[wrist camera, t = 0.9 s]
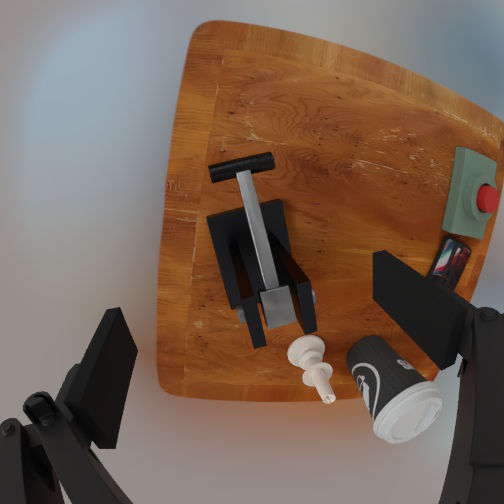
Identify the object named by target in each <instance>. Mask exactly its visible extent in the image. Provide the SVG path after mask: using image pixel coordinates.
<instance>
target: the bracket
mask: <svg viewBox="0 0 504 504" xmlns="http://www.w3.org/2000/svg"><path fill="white" fill-rule="evenodd" d="M259 206H260V210H261V214H262V217H263V221H264V225H265V229H266V233H267V237H268V241H269V245H270V249H271V253H272V257H273V261H274V265H275V269H276V273H277V277H278V281H279V284H281V283H284V284H286V285H288V286H289V289H290V293H291V297H292V302H293V306H294V310H295V314H296V318H297V320H298V322H299V324H300V325H301V327H302V329H303V331H304V333H305V335H306V334H310V333H313V332H316V331H317V324H316V316H315V309H314V304H315V303H316V296H315V292H314V290H313V288H312V287H311V281H310V280H309V279H308V277H307V276H306V275H305V273H304V272H303V271H302V269H301V268H300V267H299V266H298V264H297V263H296V262H295V260H294V259H293V258H292V254H291V249H290V243H289V238H288V232H287V227H286V222H285V216H284V211H283V206H282V201H281V200H280V199H275V200H271V201H267V202H262V203H259ZM207 223H208V227H209V231H210V234H211V238H212V242H213V246H214V249H215V253H216V257H217V260H218V264H219V268H220V271H221V275H222V279H223V282H224V286H225V289H226V293H227V296H228V300H229V303H230V307H231V310H233V309H237V313H238V316H239V320H240V323H241V324H242V323H246V322H247V325H248V328H249V332H250V336H251V339H252V343H253V347H254V349H256V348H260V347H264V346H267V343H266V339H265V335H264V331H263V327H262V323H261V319H260V315H259V310H258V306H257V303H260V300H259V296H258V292H257V290H258V289H262V288H264V285H263V281H262V277H261V273H260V269H259V265H258V261H257V257H256V253H255V249H254V245H253V241H252V237H251V233H250V229H249V225H248V221H247V217H246V214H245V210H244V207H241V208H237V209H233V210H229V211H225V212H221V213H217V214H213V215H209V216H207Z"/></svg>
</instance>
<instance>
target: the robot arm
mask: <svg viewBox="0 0 504 504" xmlns="http://www.w3.org/2000/svg"><path fill="white" fill-rule="evenodd" d="M373 299H374V300H375V301H376V302H377V303H378V304H379V305H380V306H381V308H382V309H383V310H384V311H385V312H386V313H387V314H388V315H389V316H390V317H391V318H392V319H393V320H394V321H395V322H396V323H397V324H398V325H399V326H400V327H401V328H402V329H403V330H404V331H405V332H406V333H407V334H408V335H409V336H410V337H411V338H412V340H413V341H414V342H415V343H416V344H417V345H418V346H419V347H420V348H421V349H422V350H423V351H424V352H425V353H426V354H427V355H428V357H429V358H430V359H431V360H432V361H433V362H434V363H435V364H436V365H437V366H438V367H439V369H440V370H444V369H446V368H447V367H449V366H451V365H453V364H455V361H456V357H457V353H459V354H460V355H461V356H462V357H463V359H462V362H461V366H460V369H459V372H458V375H457V377H460V389H459V400H458V410H457V418H456V425H455V432H454V439H453V444H452V450H451V455H450V460H449V465H448V469H447V474H446V478H445V482H444V486H443V490H442V494H441V497H440V501H439V503H438V504H504V313H503V314H500V313H499V312H498V311H497V310H495V309H493V308H489V307H481V308H478V309H477V308H476V307H475V306H473V305H472V304H470V303H469V302H468V301H467V300H465V299H464V298H462V297H461V296H459V295H458V294H457V293H455V292H454V291H453V290H451V289H450V288H448V287H447V286H445V285H442V284H439V283H435V284H434V283H432V282H431V281H429V280H428V279H427V278H425V277H424V276H422V275H421V274H419V273H418V272H417V271H415V270H414V269H412V268H411V267H409V266H408V265H406V264H405V263H404V262H402V261H401V260H399V259H398V258H396V257H395V256H393V255H392V254H390V253H389V252H387V251H386V250H383V251H378V252H374V253H373ZM137 352H138V350H137V347H136V345H135V343H134V340H133V338H132V336H131V333H130V331H129V328H128V326H127V324H126V321H125V319H124V316H123V314H122V311H121V309H120V307H118V308H112V309H107V310H106V312H105V314H104V316H103V318H102V320H101V322H100V324H99V326H98V328H97V330H96V332H95V334H94V336H93V338H92V340H91V342H90V344H89V346H88V348H87V350H86V353H85V354H84V357H83V359H82V361H81V363H80V364H75V365H74V366H73V367H72V368H71V369H70V370H69V371H68V374H67V376H66V378H65V381H64V382H63V384H62V387H61V388H60V391H59V393H58V395H57V397H56V400H55V402H54V400H53V399H52V397H51V396H50V395H49V394H48V393H47V392H44V391H42V392H37V393H35V394H32V395H31V396H30V397H28V398H27V400H26V401H25V403H24V405H23V411H24V413H25V414H26V415H27V416H28V418H29V419H30V420H31V422H32V423H33V424H29V425H26V426H23V425H22V424H21V423H20V422H19V421H18V420H17V419H16V418H9V419H7V420H5V421H3V423H1V425H0V504H65V503H64V500H63V496H62V491H61V487H60V483H61V484H62V486H63V488H64V490H65V492H66V494H67V495H68V497H69V499H70V501H71V503H72V504H133V503H132V502H131V501H130V499H129V498H128V497H127V496H126V495H125V493H124V492H123V491H122V490H121V488H120V487H119V486H118V485H117V483H116V482H115V481H114V479H113V478H112V477H111V475H110V474H109V473H108V471H107V470H106V469H105V468H104V466H103V464H102V463H101V462H100V460H99V459H98V457H97V456H96V454H95V453H94V452H93V450H92V449H91V448H90V446H91V442H92V441H93V442H94V443H95V444H96V446H97V447H98V448H99V449H116V444H117V438H118V434H119V429H120V423H121V419H122V415H123V410H124V405H125V401H126V397H127V392H128V388H129V384H130V380H131V375H132V371H133V368H134V364H135V360H136V356H137ZM460 374H461V376H460ZM59 481H60V483H59Z"/></svg>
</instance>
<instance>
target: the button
mask: <svg viewBox="0 0 504 504" xmlns="http://www.w3.org/2000/svg"><path fill="white" fill-rule="evenodd" d="M476 202H477V206H478V208H479V209H480V210H481V211H484V212H487V213H493V212H494V211H495V210H496V208H497V206H498V202H499V195H498V192H497V190H496V189H495V188H494V187H490V186H486V185H483V186H481V187H480V188H479V190H478V193H477V198H476Z"/></svg>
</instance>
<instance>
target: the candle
mask: <svg viewBox="0 0 504 504" xmlns="http://www.w3.org/2000/svg"><path fill="white" fill-rule="evenodd" d="M324 351H325V345H324V342H323V341H322V340H321V338H319V337H318V336H315V335H306V336H302V337H300V338H298V339H296V340H295V341H294V342H293V343H292V344H291V345H290V347H289V348H288V352H287V356H288V359H289V361H290V362H291V363H292V364H293V365H295V366H298V367H301V368H302V369H304V370H306V371H305V372H304V374H303V382H304V383H305V384H306V385H308V386H316V389H317V391H318V393H319V394H320V396H321V398H322V400H323V402H325V403H332V402H333V401H335V399H336V397H335V395H334V393H333V390H332V388H331V386H330V384H329V382H328V380H329V379H330V377H331V375H332V372H333V370H332V367H331V366H330V365H329V364H328V363H322V356H323V354H324Z"/></svg>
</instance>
